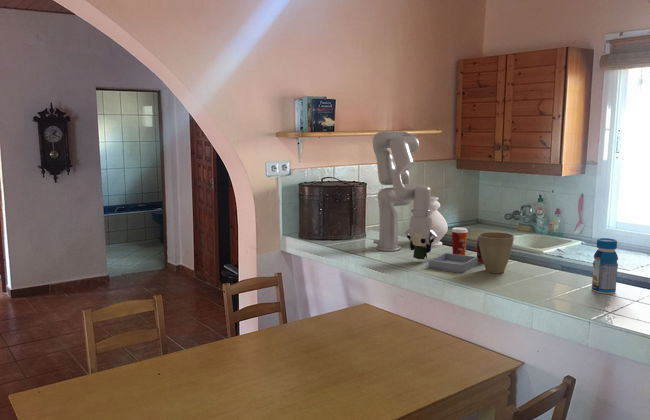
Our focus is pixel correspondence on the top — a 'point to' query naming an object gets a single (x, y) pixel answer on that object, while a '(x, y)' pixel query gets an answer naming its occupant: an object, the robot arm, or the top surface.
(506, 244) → the plant pot
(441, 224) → the decorative vase
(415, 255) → the character mug
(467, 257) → the grey bin
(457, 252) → the paper cup
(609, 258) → the beverage bottle
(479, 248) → the canned food
